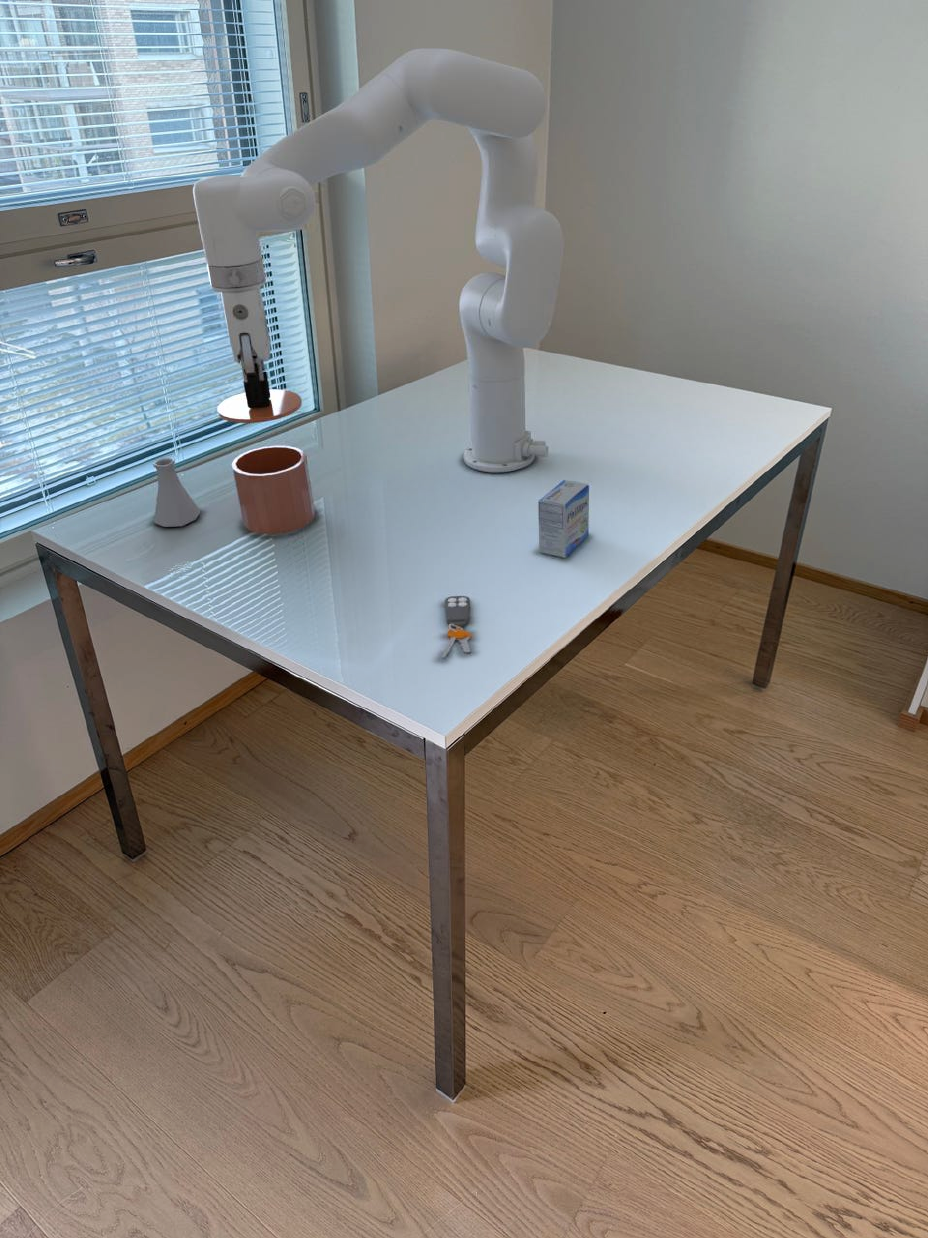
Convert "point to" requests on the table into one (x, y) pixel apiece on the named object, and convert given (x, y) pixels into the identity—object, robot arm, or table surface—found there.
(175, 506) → the flask
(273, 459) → the canister
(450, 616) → the key chain
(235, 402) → the lid
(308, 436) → the table surface
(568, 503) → the medicine box
